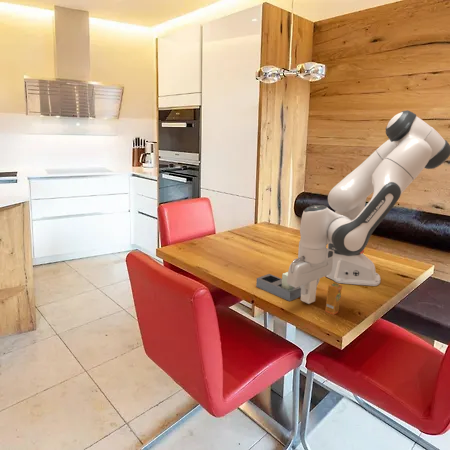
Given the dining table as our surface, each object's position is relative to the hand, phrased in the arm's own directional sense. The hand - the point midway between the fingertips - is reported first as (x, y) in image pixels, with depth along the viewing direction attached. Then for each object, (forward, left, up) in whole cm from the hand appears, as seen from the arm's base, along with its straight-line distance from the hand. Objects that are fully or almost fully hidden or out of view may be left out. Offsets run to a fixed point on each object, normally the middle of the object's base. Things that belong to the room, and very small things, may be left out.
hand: (308, 292), depth 129 cm
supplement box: (-9, +3, -5) cm, 10 cm away
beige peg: (+8, -4, -4) cm, 10 cm away
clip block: (0, 0, -3) cm, 3 cm away
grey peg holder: (+11, -6, -5) cm, 14 cm away
